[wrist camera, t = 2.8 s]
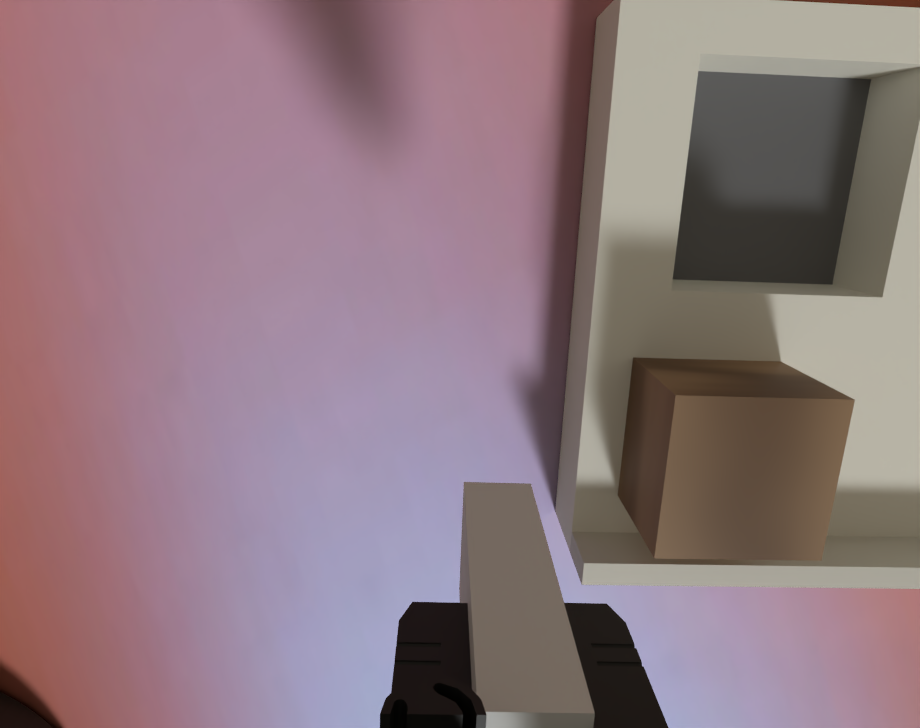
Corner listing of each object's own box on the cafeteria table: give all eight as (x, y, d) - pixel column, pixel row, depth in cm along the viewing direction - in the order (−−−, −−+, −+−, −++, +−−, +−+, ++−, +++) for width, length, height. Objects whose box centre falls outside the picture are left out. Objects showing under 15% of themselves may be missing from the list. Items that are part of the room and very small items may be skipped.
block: (617, 495, 23) (654, 558, 19) (632, 357, 22) (675, 395, 18) (757, 497, 23) (821, 560, 19) (780, 361, 22) (855, 399, 18)
